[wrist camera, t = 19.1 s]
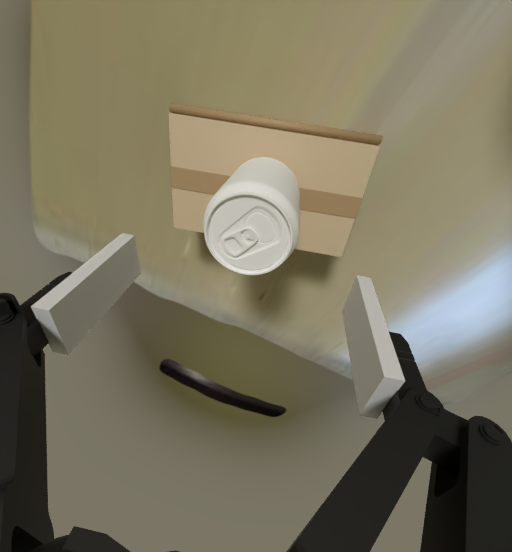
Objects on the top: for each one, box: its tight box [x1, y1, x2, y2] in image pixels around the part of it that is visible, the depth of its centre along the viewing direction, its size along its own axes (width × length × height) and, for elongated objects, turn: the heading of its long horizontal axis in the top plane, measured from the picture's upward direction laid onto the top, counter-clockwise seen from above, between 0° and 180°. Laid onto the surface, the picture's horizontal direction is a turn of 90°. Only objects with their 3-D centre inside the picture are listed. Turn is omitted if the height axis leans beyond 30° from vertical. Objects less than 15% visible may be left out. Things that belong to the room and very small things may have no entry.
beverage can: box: [203, 157, 300, 275], centre depth 27 cm, size 8×8×12 cm
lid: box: [169, 103, 382, 257], centre depth 32 cm, size 14×22×1 cm, turn 83°
